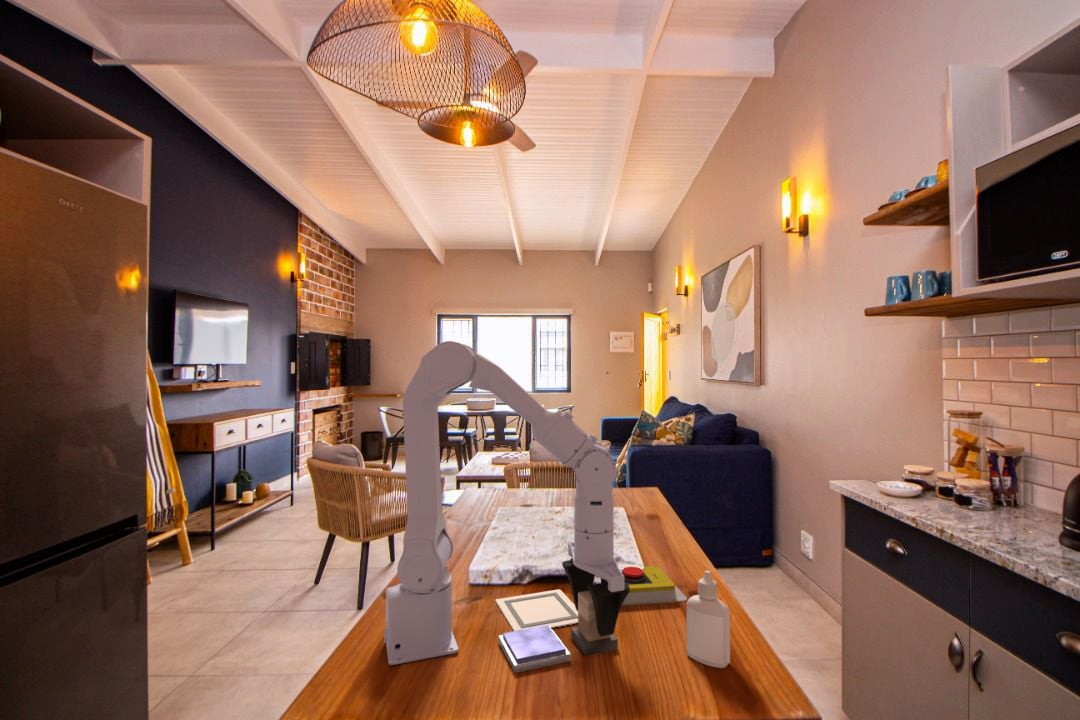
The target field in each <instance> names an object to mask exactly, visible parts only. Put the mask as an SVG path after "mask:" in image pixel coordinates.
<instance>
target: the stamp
mask: <svg viewBox="0 0 1080 720" xmlns="http://www.w3.org/2000/svg"><path fill="white" fill-rule="evenodd" d="M570 632H571V634H570V635H571V636H570V637H571V638H572V639H573V640H574V641H573V640H572V639H571V640H572V641H573V642H574V643H575V645H576V644H577V645H578V646H577V645H576V646H577V647H578V649H579V650H580V649H581V650H580V651H581V652H582V653H583V655H584V656H585V657H589V656H593V655H597V654H603V653H608V652H610V651H611V652H613V651H617V650H618V649H619V648H618V645H619V643H618V638H617V637H616V636H615V635H614V634H611V635H606V636H600V635H599V634H598V630H597V625H596V615H595V608H594V604H593V600H592V597H591V594H590V592H589V591H584V592H578V624H577V627H573V628H571V630H570Z"/></svg>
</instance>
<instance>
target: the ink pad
mask: <svg viewBox="0 0 1080 720" xmlns="http://www.w3.org/2000/svg"><path fill="white" fill-rule="evenodd" d="M498 644H499V647H500V648H501V650H502V652H503V654H504V655H505V657H506V659H507V661H508V663H509V665H510V667H511V669H512V671H513V672H514V674H518V673H522V672H526V671H531V670H532V671H533V670H536V669H540V668H546V667H549V666H550V667H551V666H556V665H558V664H559V665H560V664H564V662H565V663H569V662H571V661H572V659H571V657H572V654H571V652H570V651H569V650H568V648H567V647H566V646H565V644H564V643H563V642H562V640H561V639H560V638H559V637H558V635H557V634H556V633H555V631H554V630H553V629H551V627H550V626H548V625H545V626H539V627H534V628H529V629H523V630H518V631H513V630H512V631H508V632H503V633H502V634H500V635H498Z"/></svg>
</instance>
